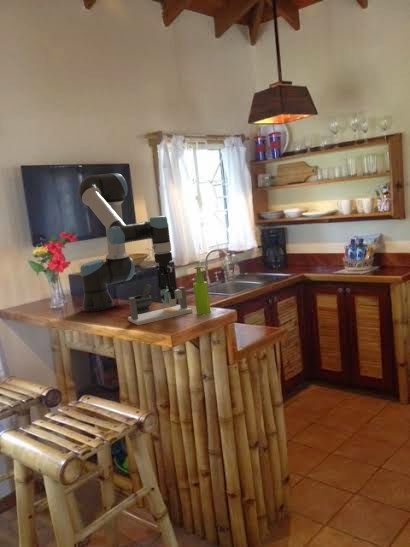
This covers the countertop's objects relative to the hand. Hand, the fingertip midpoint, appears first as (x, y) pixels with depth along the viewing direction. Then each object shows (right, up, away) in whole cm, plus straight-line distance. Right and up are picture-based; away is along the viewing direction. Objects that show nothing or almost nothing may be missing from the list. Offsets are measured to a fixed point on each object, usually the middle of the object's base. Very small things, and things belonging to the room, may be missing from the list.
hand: (169, 304), depth 217 cm
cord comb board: (-4, -5, -2) cm, 6 cm away
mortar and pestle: (-13, -4, +12) cm, 18 cm away
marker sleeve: (0, +2, 0) cm, 2 cm away
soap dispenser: (+15, -3, -5) cm, 16 cm away
